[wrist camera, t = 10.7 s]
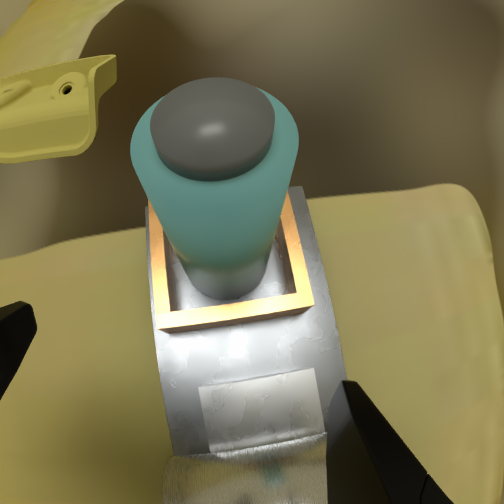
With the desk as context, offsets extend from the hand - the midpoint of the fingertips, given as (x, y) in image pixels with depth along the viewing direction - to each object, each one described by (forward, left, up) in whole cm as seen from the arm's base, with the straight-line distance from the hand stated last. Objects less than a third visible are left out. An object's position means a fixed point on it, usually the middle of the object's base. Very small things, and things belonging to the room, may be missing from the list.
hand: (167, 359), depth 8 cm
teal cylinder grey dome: (+6, -2, -11) cm, 13 cm away
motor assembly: (-1, -3, -12) cm, 13 cm away
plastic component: (+25, +16, -13) cm, 33 cm away
